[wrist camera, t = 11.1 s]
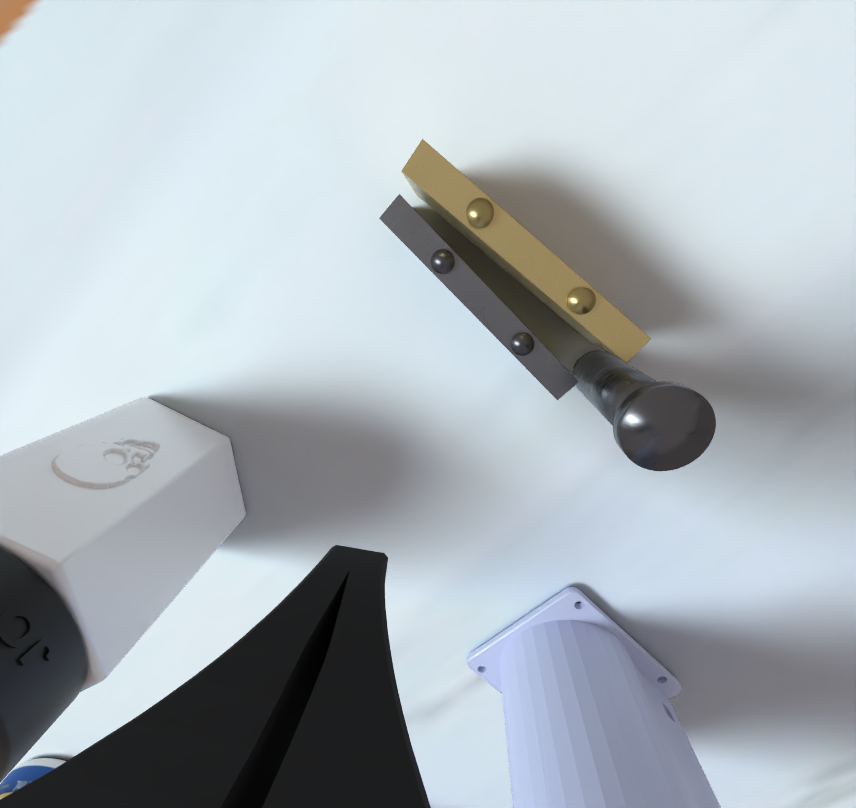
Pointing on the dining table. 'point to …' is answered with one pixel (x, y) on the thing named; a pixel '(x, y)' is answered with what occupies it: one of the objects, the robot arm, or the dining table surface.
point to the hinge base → (593, 373)
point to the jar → (99, 550)
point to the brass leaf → (520, 253)
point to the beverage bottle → (27, 774)
